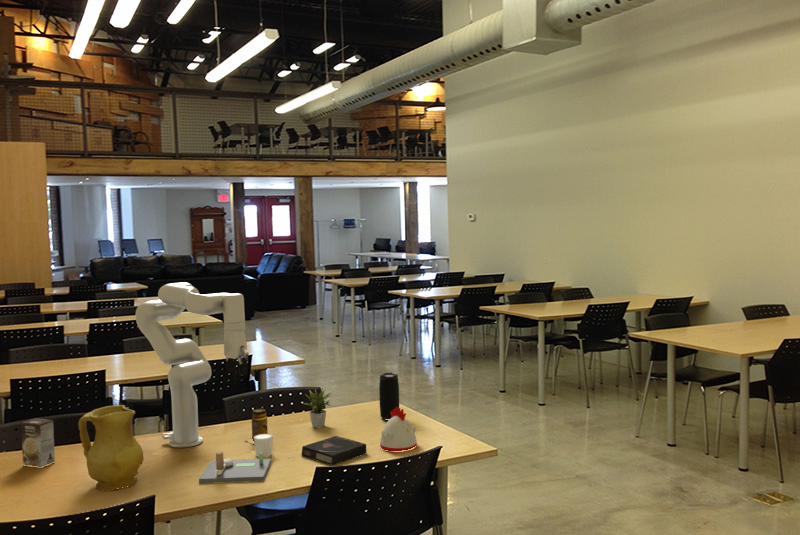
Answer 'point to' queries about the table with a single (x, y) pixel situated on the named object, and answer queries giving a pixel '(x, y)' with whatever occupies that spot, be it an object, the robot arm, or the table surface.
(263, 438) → the white cup
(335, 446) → the flat black box
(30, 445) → the coffee box
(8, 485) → the table surface
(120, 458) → the pitcher
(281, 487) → the table surface
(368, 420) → the table surface
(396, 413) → the kitchen timer
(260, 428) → the condiment
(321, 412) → the house plant
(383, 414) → the portable speaker
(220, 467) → the light piece
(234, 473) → the board
